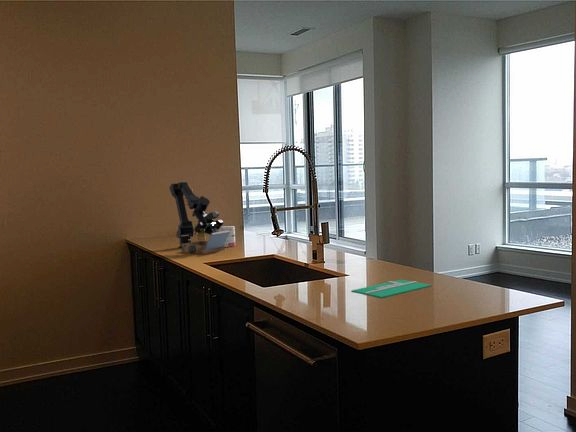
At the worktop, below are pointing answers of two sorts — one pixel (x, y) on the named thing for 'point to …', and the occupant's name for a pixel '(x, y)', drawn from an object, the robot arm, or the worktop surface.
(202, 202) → the robot arm
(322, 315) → the worktop surface
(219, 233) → the tailgate
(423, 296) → the worktop surface
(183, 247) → the tray
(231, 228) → the ink box
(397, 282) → the sign
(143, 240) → the worktop surface
